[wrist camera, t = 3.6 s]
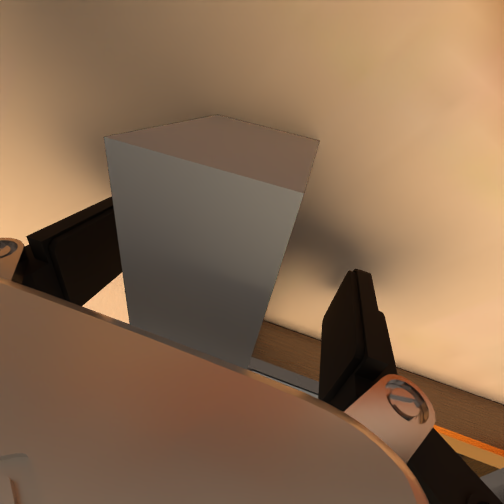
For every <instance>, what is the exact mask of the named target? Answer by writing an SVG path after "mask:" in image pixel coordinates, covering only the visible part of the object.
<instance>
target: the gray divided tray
mask: <svg viewBox="0 0 504 504" xmlns="http://www.w3.org/2000/svg"><path fill="white" fill-rule="evenodd" d="M320 355H321V341H320V340H317V339H314V338H311V337H309V336H306V335H303V334H300V333H297V332H294V331H291V330H289V329H286V328H283V327H280V326H277V325H274V324H272V323H269V322H266V321H263V322H262V325H261V328H260V331H259V334H258V337H257V340H256V343H255V346H254V350H253V353H252V356H251V359H250V362H249V365H248V368H247V370H250V371H252V372H255V373H257V374H260V375H262V376H265V377H267V378H270V379H272V380H275V381H277V382H280V383H282V384H285V385H287V386H290V387H292V388H295V389H297V390H300V391H302V392H304V393H306V394H309V395H311V396H313V397H315V398H317V399H318V393H319V374H320ZM396 369H397V374H398V375H399V376H403V377H405V378H406V379H408V380H410V381H412V382H413V383H414V384H415V385H417V386H418V387H419V388H420V389H421V390H422V391H423V392H424V393H425V395H426V396H427V398H428V399H429V401H430V402H431V404H432V406H433V409H434V412H435V420H436V421H435V423H434V426H433V428H434V429H435V430H436V431H437V432H438V433H439V434H440V435H441V436H442V437H443V439H444V440H445V441H446V442H447V443H448V444H449V445H450V446H451V447H452V448H453V449H454V451H455V452H456V453H457V454H458V455H459V456H460V457H461V458H462V459H463V460H464V461H465V462H466V464H467V465H468V466H469V467H470V468H471V469H472V470H473V471H474V472H475V473H476V474H477V476H478V477H479V478H480V479H481V480H482V481H483V482H484V483H485V484H486V485H487V486H488V487H489V489H490V490H491V491H492V492H493V493H494V494H495V495H496V496H497V497H498V498H499V499H500V501H501V502H502V503H503V504H504V405H502V404H499V403H496V402H493V401H490V400H487V399H485V398H482V397H479V396H476V395H473V394H470V393H467V392H465V391H462V390H459V389H456V388H453V387H450V386H448V385H445V384H442V383H439V382H436V381H433V380H431V379H428V378H425V377H422V376H419V375H416V374H414V373H411V372H408V371H405V370H402V369H399V368H397V367H396Z"/></svg>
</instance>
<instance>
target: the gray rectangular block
mask: <svg viewBox="0 0 504 504" xmlns="http://www.w3.org/2000/svg"><path fill="white" fill-rule="evenodd" d="M104 142H105V149H106V156H107V163H108V171H109V178H110V185H111V192H112V200H113V207H114V214H115V221H116V229H117V236H118V243H119V250H120V258H121V265H122V272H123V279H124V287H125V294H126V301H127V308H128V316H129V323H130V325H132V326H135V327H138V328H140V329H143V330H146V331H148V332H151V333H153V334H156V335H159V336H161V337H164V338H167V339H169V340H172V341H174V342H177V343H180V344H182V345H185V346H188V347H190V348H193V349H195V350H198V351H201V352H203V353H206V354H208V355H211V356H213V357H216V358H219V359H221V360H224V361H226V362H229V363H232V364H234V365H237V366H239V367H242V368H245V369H247V368H248V365H249V362H250V359H251V356H252V353H253V350H254V346H255V343H256V340H257V337H258V334H259V331H260V328H261V325H262V322H263V319H264V316H265V313H266V309H267V306H268V303H269V300H270V297H271V294H272V291H273V288H274V285H275V282H276V279H277V276H278V272H279V269H280V266H281V263H282V260H283V257H284V254H285V251H286V248H287V245H288V242H289V239H290V235H291V232H292V229H293V226H294V223H295V220H296V217H297V214H298V211H299V208H300V205H301V202H302V198H303V195H304V192H305V189H306V185H307V182H308V179H309V175H310V172H311V168H312V165H313V162H314V158H315V155H316V152H317V148H318V145H319V141H318V140H314V139H311V138H307V137H303V136H299V135H295V134H291V133H287V132H283V131H279V130H275V129H272V128H268V127H264V126H260V125H256V124H252V123H248V122H244V121H240V120H236V119H233V118H229V117H225V116H221V115H213V116H208V117H203V118H198V119H193V120H188V121H183V122H177V123H172V124H167V125H162V126H157V127H152V128H146V129H141V130H136V131H131V132H126V133H121V134H116V135H110V136H105V137H104Z"/></svg>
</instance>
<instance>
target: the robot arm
mask: <svg viewBox="0 0 504 504" xmlns="http://www.w3.org/2000/svg"><path fill="white" fill-rule="evenodd" d="M27 239H28V242H29V245H27V246H24V244H23V243H22V242H21V241H20V240H17V239H13V238H0V504H503V503H502V502H501V501H500V499H499V498H498V497H497V496H496V495H495V494H494V493H493V492H492V491H491V490H490V489H489V487H488V486H487V485H486V484H485V483H484V482H483V481H482V480H481V479H480V478H479V477H478V476H477V474H476V473H475V472H474V471H473V470H472V469H471V468H470V467H469V466H468V465H467V464H466V462H465V461H464V460H463V459H462V458H461V457H460V456H459V455H458V454H457V453H456V452H455V451H454V449H453V448H452V447H451V446H450V445H449V444H448V443H447V442H446V441H445V440H444V439H443V437H442V436H441V435H440V434H439V433H438V432H437V431H436V430H435V429H434V428H433V426H434V423H435V421H436V420H435V412H434V409H433V406H432V404H431V402H430V401H429V399H428V398H427V396H426V395H425V393H424V392H423V391H422V390H421V389H420V388H419V387H418V386H417V385H415V384H414V383H413V382H412V381H410V380H408V379H406V378H405V377H403V376H399V375H398V374H397V369H396V365H395V360H394V356H393V351H392V347H391V342H390V338H389V333H388V329H387V324H386V320H385V316H384V314H383V313H382V312H380V311H378V306H377V301H376V296H375V291H374V286H373V281H372V276H371V274H370V273H368V272H365V271H362V270H358V269H355V270H354V271H348V272H347V274H346V276H345V278H344V280H343V282H342V283H341V285H340V287H339V289H338V291H337V293H336V295H335V297H334V299H333V300H332V302H331V304H330V306H329V308H328V310H327V312H326V314H325V316H324V318H323V322H322V337H321V355H320V374H319V393H318V399H317V398H315V397H313V396H311V395H309V394H306V393H304V392H302V391H300V390H297V389H295V388H292V387H290V386H287V385H285V384H282V383H280V382H277V381H275V380H272V379H270V378H267V377H265V376H262V375H260V374H257V373H255V372H252V371H250V370H247V369H245V368H242V367H239V366H237V365H234V364H232V363H229V362H226V361H224V360H221V359H219V358H216V357H213V356H211V355H208V354H206V353H203V352H201V351H198V350H195V349H193V348H190V347H188V346H185V345H182V344H180V343H177V342H174V341H172V340H169V339H167V338H164V337H161V336H159V335H156V334H153V333H151V332H148V331H146V330H143V329H140V328H138V327H135V326H132V325H130V324H127V323H124V322H122V321H119V320H116V319H114V318H111V317H109V316H106V315H103V314H100V313H98V312H95V311H92V310H90V309H87V308H84V307H82V306H83V305H84V304H85V303H86V302H87V301H89V300H90V299H91V298H92V297H93V296H94V295H96V294H97V293H98V292H99V291H100V290H102V289H103V288H104V287H105V286H106V285H107V284H109V283H110V282H111V281H112V280H113V279H115V278H116V277H117V276H118V275H119V274H120V273H122V265H121V258H120V250H119V243H118V236H117V229H116V221H115V214H114V207H113V200H112V197H109V198H107V199H105V200H103V201H101V202H99V203H97V204H95V205H92V206H90V207H88V208H86V209H84V210H82V211H80V212H77V213H75V214H73V215H71V216H69V217H67V218H65V219H62V220H60V221H58V222H56V223H54V224H52V225H50V226H47V227H45V228H43V229H41V230H39V231H37V232H35V233H33V234H30V235H28V236H27Z"/></svg>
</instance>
